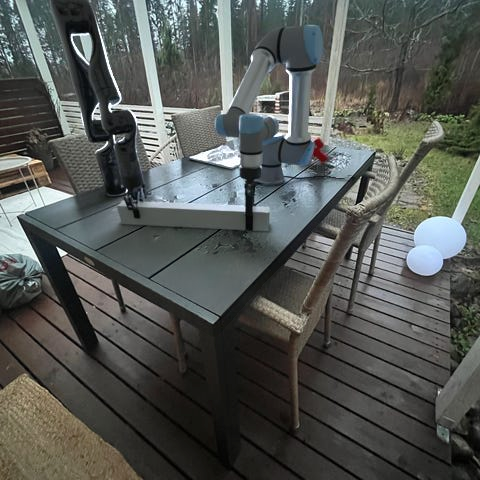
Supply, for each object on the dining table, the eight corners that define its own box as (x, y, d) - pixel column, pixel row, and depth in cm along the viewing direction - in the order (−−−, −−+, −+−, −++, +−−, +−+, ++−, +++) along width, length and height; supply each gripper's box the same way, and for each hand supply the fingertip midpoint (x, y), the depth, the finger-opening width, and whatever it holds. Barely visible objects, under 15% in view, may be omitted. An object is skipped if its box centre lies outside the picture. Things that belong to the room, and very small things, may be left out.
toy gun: (331, 157, 168) (319, 136, 164) (331, 159, 164) (318, 137, 160) (306, 172, 178) (294, 153, 174) (305, 174, 174) (292, 154, 170)
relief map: (231, 168, 161) (231, 160, 158) (189, 159, 179) (189, 151, 176) (257, 158, 179) (257, 150, 176) (217, 150, 197) (216, 142, 194)
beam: (269, 224, 104) (270, 206, 100) (268, 231, 100) (269, 212, 96) (127, 218, 110) (122, 200, 106) (121, 224, 106) (116, 206, 102)
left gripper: (129, 165, 103) (139, 206, 112) (110, 178, 91) (122, 223, 100) (148, 166, 102) (156, 207, 111) (131, 179, 90) (142, 224, 99)
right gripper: (242, 157, 98) (242, 214, 111) (236, 174, 83) (237, 238, 96) (263, 157, 97) (260, 215, 110) (260, 174, 82) (258, 239, 95)
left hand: (140, 214), depth 105 cm, fingers closed on beam, 5 cm apart
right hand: (249, 225), depth 103 cm, fingers closed on beam, 5 cm apart
